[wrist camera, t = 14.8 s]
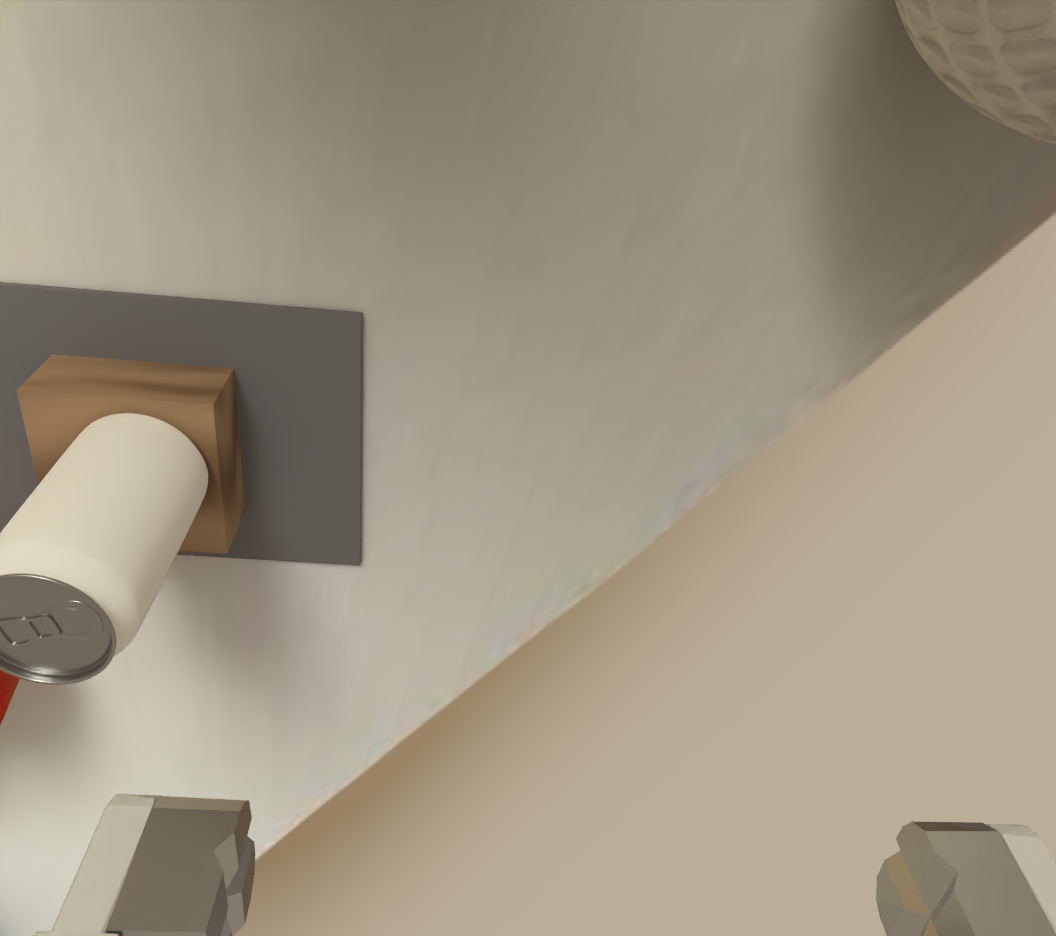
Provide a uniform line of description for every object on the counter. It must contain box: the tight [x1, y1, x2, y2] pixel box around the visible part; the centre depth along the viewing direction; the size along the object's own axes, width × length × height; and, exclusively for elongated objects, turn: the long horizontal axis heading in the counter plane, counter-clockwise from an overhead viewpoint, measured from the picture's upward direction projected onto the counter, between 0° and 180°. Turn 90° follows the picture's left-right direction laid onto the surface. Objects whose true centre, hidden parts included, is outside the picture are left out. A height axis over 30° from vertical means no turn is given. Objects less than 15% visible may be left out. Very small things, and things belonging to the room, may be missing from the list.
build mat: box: [0, 282, 362, 565], centre depth 47 cm, size 16×22×1 cm
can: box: [0, 413, 208, 685], centre depth 38 cm, size 6×6×12 cm
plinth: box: [16, 354, 245, 554], centre depth 45 cm, size 9×9×4 cm
